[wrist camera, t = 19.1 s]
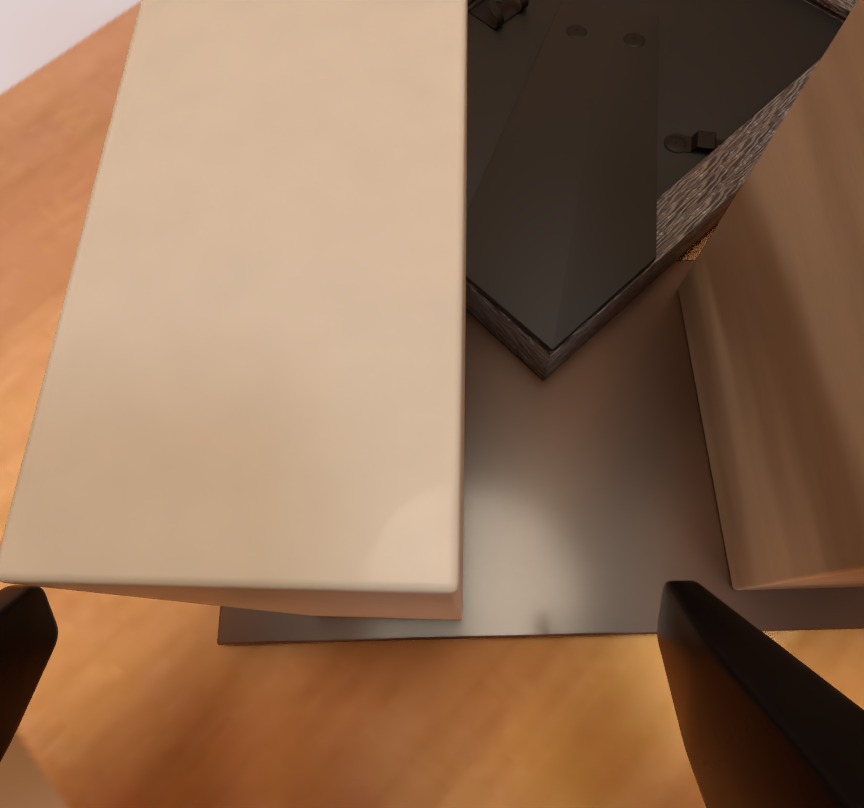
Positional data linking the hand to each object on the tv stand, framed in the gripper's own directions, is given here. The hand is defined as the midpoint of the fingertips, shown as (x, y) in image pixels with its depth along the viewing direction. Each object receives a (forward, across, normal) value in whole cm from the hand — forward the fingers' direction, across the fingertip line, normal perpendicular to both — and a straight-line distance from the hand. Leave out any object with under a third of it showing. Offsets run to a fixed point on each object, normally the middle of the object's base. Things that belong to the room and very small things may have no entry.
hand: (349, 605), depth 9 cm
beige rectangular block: (+9, 0, +2) cm, 9 cm away
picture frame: (+18, -6, -7) cm, 20 cm away
